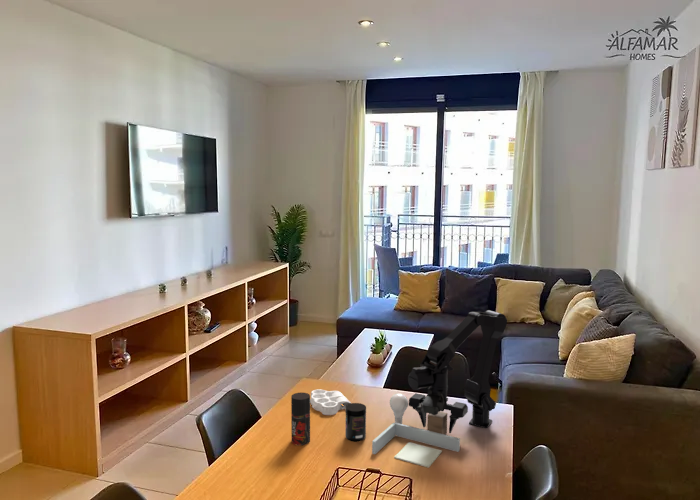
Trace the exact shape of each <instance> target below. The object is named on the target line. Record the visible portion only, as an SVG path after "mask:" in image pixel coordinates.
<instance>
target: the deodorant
mask: <svg viewBox="0 0 700 500" xmlns="http://www.w3.org/2000/svg"><path fill="white" fill-rule="evenodd" d="M290 399H291V401H290V403H291V408H290V409H291V410H290V411H291V412H290V414H291V416H290V419H291V443H292V444H293V445H294V446H305V445H308V444H310V442H311V403H310V399H311V394H309V393H307V392H296V393H293V394H292V395H291V398H290Z"/></svg>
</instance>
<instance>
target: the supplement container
mask: <svg viewBox="0 0 700 500" xmlns="http://www.w3.org/2000/svg"><path fill="white" fill-rule="evenodd" d="M344 412H345V436H344V437H345V438H346V440H347V441H349V442H353V443H358V442H362V441H364V440H365V439H366V436H367V433H366V432H367V431H366V430H367V405H365V404H363V403H360V402H351V404H348V405H346V409H345V411H344Z"/></svg>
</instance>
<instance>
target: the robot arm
mask: <svg viewBox="0 0 700 500" xmlns="http://www.w3.org/2000/svg"><path fill="white" fill-rule="evenodd" d="M507 324H508V318H507V316H506V315H505V314H504V313H501V312H497V311H493V310H490V309H488V310H485V311H484V312H481V311H470V312H468V314H467V315H466V317H465V318H464V319H463V320H462V321H461V322H460V323H459V324H458V325H457V326H456V327H455V328H454V329H453V330H452V331H451V332H450V333H449V334H448V335H447V336H446V337H445V338H443V339H441V340H438V341H436V342H434V343H433V344H432V345H431V346H429V347H428V349H427V350H426V351H427V352H426V354H425V356H424V357H423V359H422V361H421V362H420V367H419V366H418V367H412V368H411V371H410V372H409V374H408V376H407V381H408V385H409V387H410V388H411V390H412V391H415V390H420V389H426V388H427V394H426V395H425V394H421V393H417V392H416V393H414V394H413V395H412V396H410V397H409V399H408V407H411V408H412V410H415V411H416V412H417V414H418V416H419V419H420V422H421V425H422V426H423V428H425V427H426V425H427V414H429V413H430V414H432V415H436V414H438V412H444V411H445V410H446V411H450V415H449V426H448V434H451V433H452V431H453V429H454V427H455V425H456V423H457V420H459V419H460V418H461V419H462V418H464V417H465V416H466V415H467V413H468V412H469V411H468V410H469V407H468V404H470V405H472V415H471V416H472V417H471V419H470V420H469V422H468V424H469V425H472V426H476V427H479V428H480V427H482V428H485V429H486V428H487V429H488V428H489V426H490V425H491V423H492V422H493V420H492V419H490V412H492V410H494V409H495V408H496V405H497V403H496V401H495V400H494V399H493V397H491V391H492V388H491V384H490V382H489V378H490V373H491V369H492V365H493V360H494V356H495V351H496V347H497V343H498V339H499V338H500V337H502V335H503V334H504V332H505V329H506V327H507ZM479 326H480V329H481V332H482V339H481V342H480V347H479V351H478V357H477V360H476V364H475V370H474V374H473V375H472V377H471V378H470V379H468V378H467V379H466V380H465V386H464V389H463V391H464V397H465V398H466V400H467V403H468V404H467V403H464V402H458V401H455V402H454V403H453V404H450V403H448V400H449V397H447V396H448V389H449V385H448V372H450V371H453V370H454V368H453V366H451V365H450V363H451V362H452V360H453V359H454V358H455V355H456V352H457V349H458V348H459V347H460V346H461V345H462V344H463V343H464V342H465V341H466V340H467V338H469V337H470V336H471V335H472V334H473V333H474V332H475V331H476V330H477V329H478V328H479Z"/></svg>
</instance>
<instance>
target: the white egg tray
mask: <svg viewBox="0 0 700 500" xmlns="http://www.w3.org/2000/svg"><path fill="white" fill-rule="evenodd" d="M351 403H352V402H351V401H350V400H349V399H348V398H347V397H346V396H344V394H343V393H342V392H341V391H339V390H330V391H329V390H325V389H320V388H319V389H314V390H311V392H310V406H311V405H312V406H311V408H313V409H314V411H317V412H320V413H321V414H322V415H324V416H334V415H336V414H338V412H339V411H340V410H346V405H348V404H351ZM341 404H343V405H344V406H342V405H341Z"/></svg>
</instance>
